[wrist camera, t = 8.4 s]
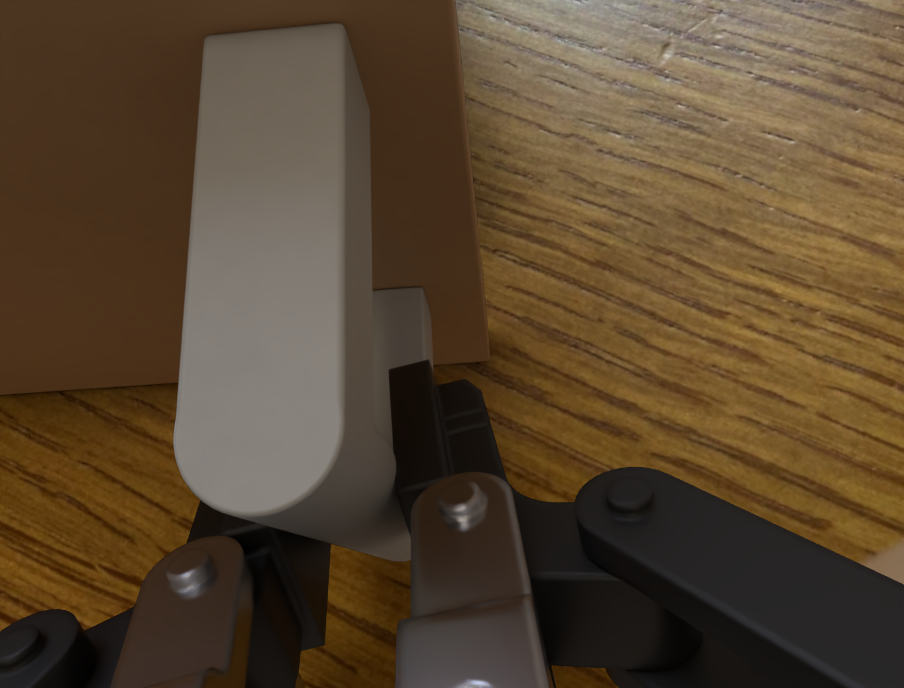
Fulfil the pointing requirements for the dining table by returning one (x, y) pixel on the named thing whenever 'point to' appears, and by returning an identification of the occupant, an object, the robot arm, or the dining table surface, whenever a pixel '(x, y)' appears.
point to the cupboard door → (243, 233)
